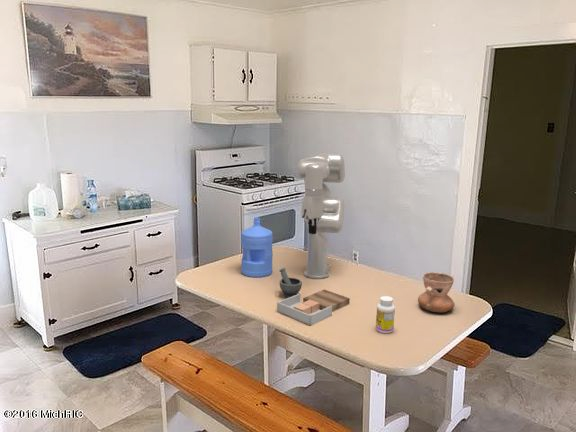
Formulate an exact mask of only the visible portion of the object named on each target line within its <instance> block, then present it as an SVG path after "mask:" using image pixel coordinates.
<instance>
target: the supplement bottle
mask: <svg viewBox="0 0 576 432" xmlns="http://www.w3.org/2000/svg"><path fill="white" fill-rule="evenodd" d="M379 301H380V302H378V304H377V305H376V319H375V329H376V331H378V332H379V333H381V334H391V333H392V332H394V327H395V315H396V314H395V313H396V306H395V305H394V304H393V302H394V298H393V297H391V296H389V295H388V296H387V295H383V296H380V298H379Z"/></svg>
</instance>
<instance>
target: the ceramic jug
mask: <svg viewBox="0 0 576 432" xmlns="http://www.w3.org/2000/svg"><path fill="white" fill-rule="evenodd" d="M422 280H423V281H422V282H423V284H424V288H425V291H424V292H423V293H421V294H419V296H418V297H417V302H418V303H417V304H419V306H420V307H421V308H422V309H424V310H426V311H429V312H432V313H446V312H450V311H451V310H452V309H453V308H454V306H455V303H454V302H455V301H454V300H453V298H451V296H450V295H448V294H449V292H450V290H451V288H452V287H453V285H454V282H455V278H454V277H453V276H452V275H450V274H448V273H446V272H440V271H429V272H425V273H423V275H422Z"/></svg>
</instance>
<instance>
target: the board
mask: <svg viewBox="0 0 576 432" xmlns="http://www.w3.org/2000/svg"><path fill="white" fill-rule="evenodd" d="M308 300H313V301H316V302H319V303H320V304H319V309H320V310H323V309H325V308H327V307H329V306H332V313H333V312H335V311H337V310H339V309H342V308H343V307H346V306H348V305H350V300H351V299H350V298H349V297H347V296H344V295H341V294H339V293H336V292H333V291H330V290H327V289H322V290H319V291H318V292H315V293H312V294H310V295H308V296H305V297H303V298H302V303H304V302H306V301H308Z"/></svg>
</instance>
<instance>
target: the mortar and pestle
mask: <svg viewBox="0 0 576 432" xmlns="http://www.w3.org/2000/svg"><path fill="white" fill-rule="evenodd" d="M279 272H280V275H281V277H282V278H281V279H280V280H279V288H280V290H281V292H282V295H283V298H284V299H287V298H290V297H292V296H295V295H297V294H299V292H300V291H301V289H302V285H303V282H302V280H301V279H300V278H296V277H289V276H288V274H287V270H286V268H285V267H282V268H280V269H279Z"/></svg>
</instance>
